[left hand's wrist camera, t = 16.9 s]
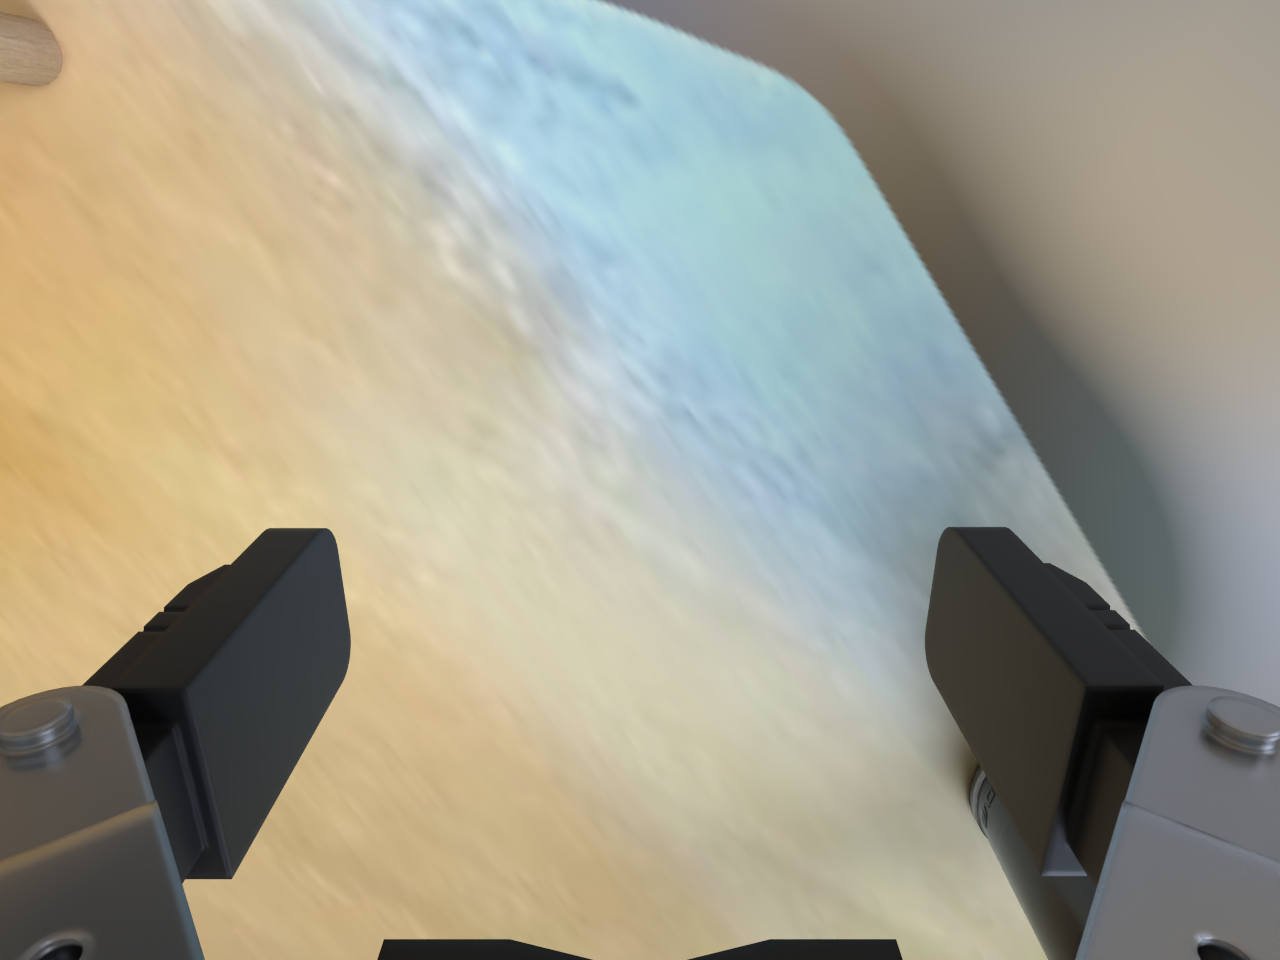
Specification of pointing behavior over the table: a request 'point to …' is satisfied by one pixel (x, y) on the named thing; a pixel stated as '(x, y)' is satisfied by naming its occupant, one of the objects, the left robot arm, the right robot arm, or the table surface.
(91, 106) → the table surface
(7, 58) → the planter
